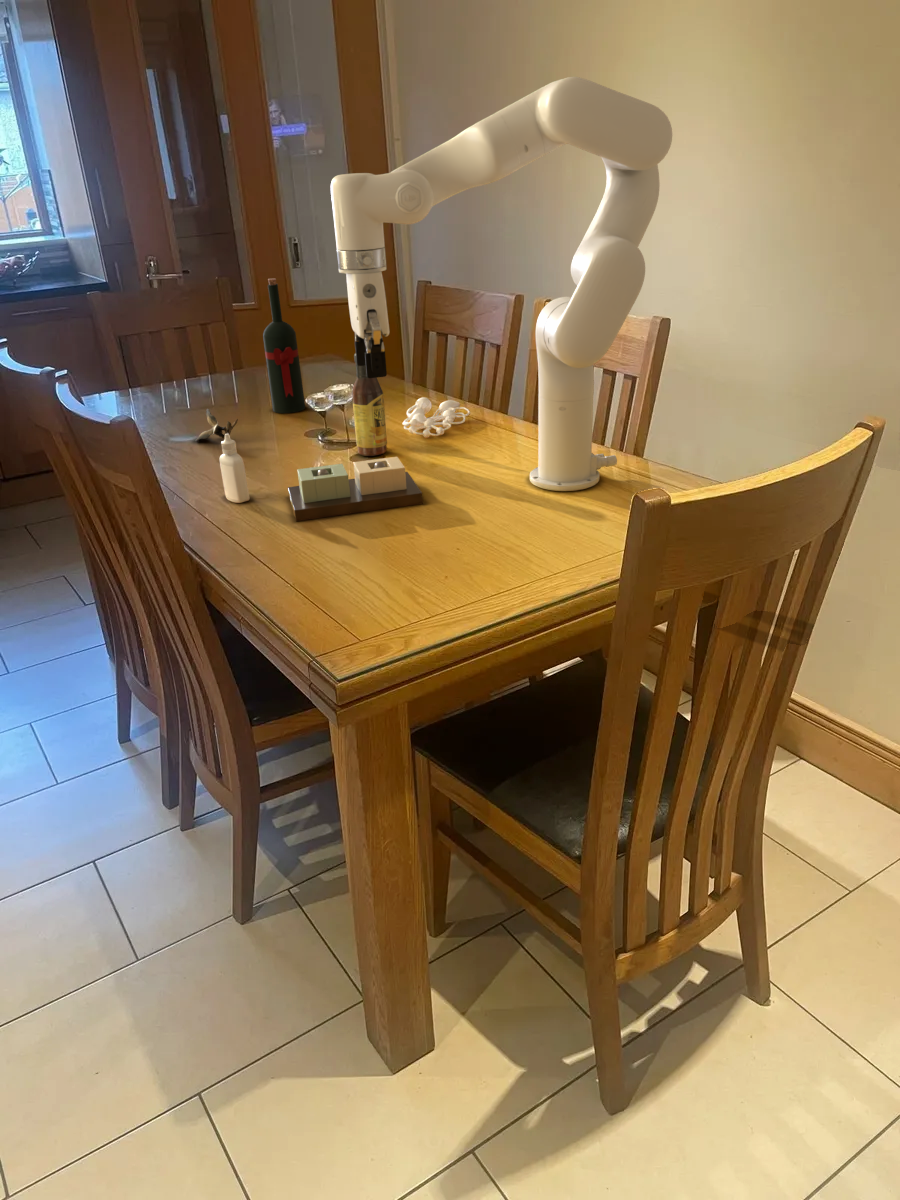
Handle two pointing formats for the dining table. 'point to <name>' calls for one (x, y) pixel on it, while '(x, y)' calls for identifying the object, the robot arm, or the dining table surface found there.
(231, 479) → the eye dropper bottle
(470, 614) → the dining table surface
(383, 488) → the beige block with hole
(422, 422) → the tangled rod sculpture
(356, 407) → the sauce bottle
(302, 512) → the peg board base
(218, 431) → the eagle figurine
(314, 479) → the green block with hole
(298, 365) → the wine bottle
